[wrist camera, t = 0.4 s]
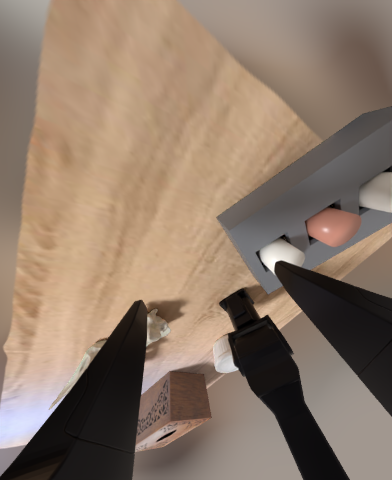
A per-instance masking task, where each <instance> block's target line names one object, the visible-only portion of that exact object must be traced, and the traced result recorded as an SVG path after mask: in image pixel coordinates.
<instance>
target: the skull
mask: <svg viewBox="0 0 392 480" xmlns="http://www.w3.org/2000/svg"><path fill="white" fill-rule="evenodd" d="M157 311H158V309H154V310H152V311H151V312H150V313H149V314H148V313H147V344H146V347H147V345H149V344H150V343H151V342H153V341H158V340H159V339H160V338H162V337H164V336H166V335H168V334H169V332H170V331H171V330H170V328H169V326H168V324H167V322H166V321H165V320H163V319H161V318H160V317H159V316H156V313H157ZM106 341H107V340H103V341H99V342H97V343H95V344H94V345H92V346H91V347H90V348H89V349H88V350H87V351H86V353H85V355H84V357H83V360H82V361H81V363H80V365H79V366H78V368H77V369H76V371H75V373H74V374H73V376H72V378H71V379H70V381H69V382H68V384H67V385H66V386H65V388H64V389H63V390H62V391H61V393H60V394H59V395H58V397H57V399H56V400H55V401H54V402H53V403H52V405H51V407H50V408H49V409H51V408H52V407H53V406H54V405H55V404H56V403H57V402H58V401H59V400H60V399H61V398H62V397H63V396H64V395H66V394H67V393H68V392H69V391H70V390H71V388H72V387H73V386H74V384H75V383H76V382H77V380H78V379H79V378H80V376H81V375H82V374H83V372H84V371H85V369H86V368H88V365H89V364H90V363H91V361H92V360H93V358H94V357H95V356H96V354H97V353H98V352H99V350H100V349H101V347H102V346H103V345H104V343H105V342H106Z"/></svg>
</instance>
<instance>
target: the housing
mask: <svg viewBox="0 0 392 480" xmlns="http://www.w3.org/2000/svg"><path fill="white" fill-rule="evenodd" d="M381 172H392V106H391V107H387V108H383V109H380V110H375V111H372V112H368V113H364V114H362V115H361V116H359V117H358V118H356V119H355V120H353V121H352V122H351V123H349V124H348V125H346V126H345V127H343V128H342V129H341V130H339V131H338V132H336V133H335V134H334V135H332V136H331V137H329V138H328V139H326V140H325V141H324V142H322V143H321V144H319V145H318V146H317V147H315V148H314V149H312V150H311V151H309V152H308V153H307V154H305V155H304V156H302V157H301V158H300V159H298V160H297V161H295V162H294V163H292V164H291V165H290V166H288V167H287V168H285V169H284V170H283V171H281V172H280V173H278V174H277V175H275V176H274V177H273V178H271V179H270V180H268V181H267V182H266V183H264V184H263V185H261V186H260V187H258V188H257V189H256V190H254V191H253V192H251V193H250V194H249V195H247V196H246V197H244V198H243V199H242V200H240V201H239V202H237V203H236V204H234V205H233V206H232V207H230V208H229V209H227V210H226V211H225V212H223V213H222V214H220V215H219V216H217V217H216V218H217V219H218V221H219V222H220V224H221V226H222V227H223V229H224V230H225V232H226V233H227V235H228V237H229V238H230V240H231V241H232V243H233V245H234V246H235V248H236V249H237V251H238V252H239V254H240V256H241V257H242V259H243V260H244V262H245V263H246V265H247V267H248V268H249V270H250V271H251V273H252V274H253V276H254V277H255V278H256V280H257V281H258V282H259V283H260V285H261V286H262V287H263V289H264V290H265V291H266V292H267V294H270V293H271V292H273V291H275V290H277V289H278V288H280V287H282V286H283V285H282V284H281V282H280V281H279V279H278V278H277V276H276V275H275V274H274V273H273V272H272V271H271V270H270V269H269V268H268V267H267V266H266V265H264V266H262V264H261V262H260V260H259V259H258V257H257V255H256V253H255V252H257V251H258V250H260V249H262V248H263V247H265V246H266V245H268V244H269V243H271V242H273V241H274V240H276V239H277V238H279V237H280V236H282V235H284V234H285V236H286V239H287V242H288V243H289V244H291V245H292V246H294V247H295V248H297V249H299V250H300V251H302V252H303V253H304V255H305V260H304V263H303V264H302V266H301V267H302V268H305V269H308V270H311V269H313V268H314V267H316V266H318V265H320V264H321V263H323V262H325V261H327V260H328V259H330V258H332V257H333V256H335V255H337V254H339V253H340V252H342V251H344V250H345V249H347V248H349V247H351V246H352V245H354V244H356V243H358V242H359V241H361V240H363V239H364V238H366V237H368V236H370V235H371V234H373V233H375V232H376V231H378V230H380V229H382V228H383V227H385V226H387V225H389V224H390V223H392V213H390V212H385V211H380V210H376V209H371V208H366V207H362V206H359V189H360V186H361V185H362V184H364V183H365V182H367V181H368V180H370V179H372V178H373V177H375V176H376V175H378V174H379V173H381ZM332 203H334V204H335V209H338V210H342V211H345V212H349V213H353V214H357V215H359V216H360V217H361V226H360V228H359V230H358V231H357V233H356V234H355V235H354V236H353V237H352V238H351V239H350V240H349V241H348V242H346V243H344V244H343V245H340V246H337V247H331V246H329V245H327V244H325V243H323V242H321V241H319V240H317V239H315V238H313V237H309V238H308V234H307V230H306V226H305V221H306V220H307V219H309V218H310V217H312V216H313V215H315V214H317V213H318V212H320V211H321V210H323V209H324V208H326V207H328V206H329V205H331V204H332Z"/></svg>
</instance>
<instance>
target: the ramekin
mask: <svg viewBox="0 0 392 480" xmlns="http://www.w3.org/2000/svg"><path fill="white" fill-rule="evenodd" d="M213 352H214V360H215V369H216V371H217V372H220V373H229V372H233V371H236V370H239V369H238V368H237V367H235V366H234V363H233V358H232V352H231V348H230V345H229V342H228V334H227V335H224V336H222V337H221V338H219V339H218V340H217V341H216V342H215V344H214V346H213Z"/></svg>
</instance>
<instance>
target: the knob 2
mask: <svg viewBox="0 0 392 480" xmlns="http://www.w3.org/2000/svg"><path fill="white" fill-rule="evenodd" d="M359 206H362V207H366V208H371V209H376V210H380V211H385V212H390V213H392V172H381V173H379V174H378V175H376V176H375V177H373V178H372V179H370V180H368V181H367V182H365V183H364V184H362V185H361V186H360V189H359Z"/></svg>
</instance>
